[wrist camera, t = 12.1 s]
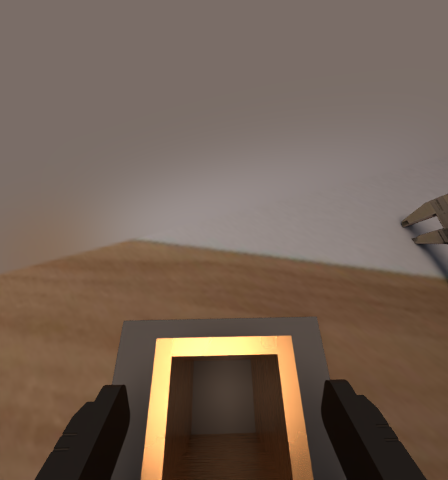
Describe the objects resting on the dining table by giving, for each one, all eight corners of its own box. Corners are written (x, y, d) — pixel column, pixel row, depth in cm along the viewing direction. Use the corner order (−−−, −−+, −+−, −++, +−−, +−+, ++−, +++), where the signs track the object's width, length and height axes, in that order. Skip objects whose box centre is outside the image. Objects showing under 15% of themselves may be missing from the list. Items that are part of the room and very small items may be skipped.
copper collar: (258, 349, 15) (291, 335, 8) (267, 445, 13) (322, 538, 6) (185, 351, 15) (156, 338, 8) (179, 448, 13) (132, 547, 6)
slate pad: (313, 318, 17) (316, 316, 17) (348, 484, 13) (353, 489, 12) (126, 322, 17) (123, 320, 16) (95, 495, 12) (90, 500, 12)
